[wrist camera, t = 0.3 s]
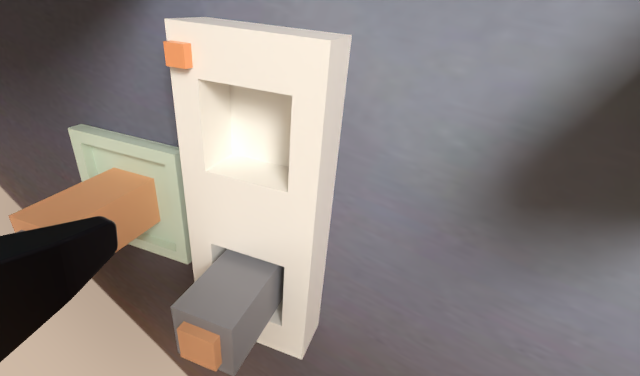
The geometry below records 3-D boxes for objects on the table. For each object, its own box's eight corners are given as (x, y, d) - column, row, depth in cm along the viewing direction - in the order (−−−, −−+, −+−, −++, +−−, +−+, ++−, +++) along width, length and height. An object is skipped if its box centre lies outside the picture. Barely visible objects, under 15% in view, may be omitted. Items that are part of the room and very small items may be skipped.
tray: (196, 256, 31) (187, 264, 30) (106, 226, 34) (95, 232, 33) (185, 149, 26) (174, 154, 25) (81, 123, 29) (67, 128, 28)
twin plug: (289, 287, 28) (228, 385, 21) (244, 272, 29) (171, 360, 22) (292, 246, 26) (225, 339, 19) (243, 232, 27) (162, 314, 20)
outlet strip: (318, 324, 29) (298, 366, 26) (223, 290, 32) (194, 325, 28) (351, 35, 19) (326, 41, 15) (206, 17, 21) (155, 18, 18)
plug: (160, 220, 30) (63, 288, 23) (122, 208, 31) (18, 270, 24) (153, 178, 28) (45, 238, 21) (113, 167, 29) (-3, 220, 22)
